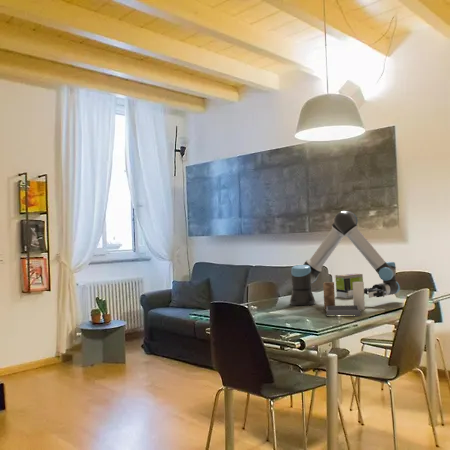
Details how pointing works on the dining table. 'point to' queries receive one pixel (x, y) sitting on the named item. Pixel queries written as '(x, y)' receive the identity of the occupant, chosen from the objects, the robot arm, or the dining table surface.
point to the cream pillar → (358, 294)
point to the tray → (343, 310)
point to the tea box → (346, 283)
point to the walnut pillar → (329, 294)
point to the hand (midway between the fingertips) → (358, 294)
